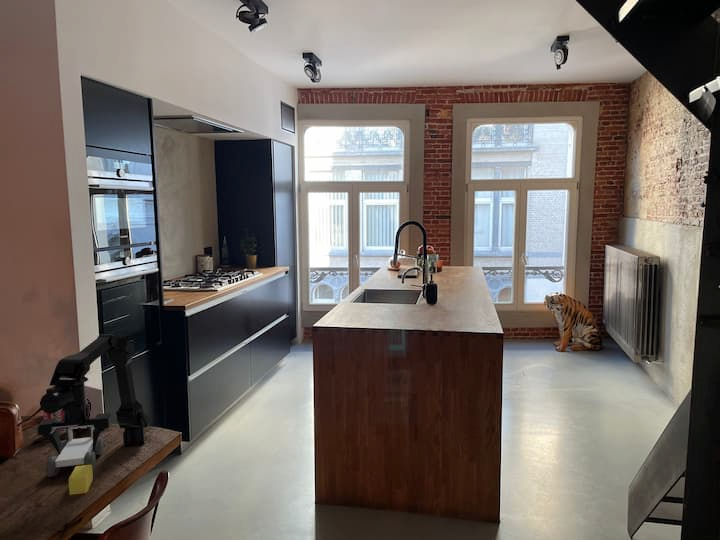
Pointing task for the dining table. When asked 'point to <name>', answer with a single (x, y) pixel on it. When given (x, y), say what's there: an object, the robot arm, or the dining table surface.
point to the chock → (80, 479)
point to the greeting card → (94, 400)
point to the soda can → (59, 416)
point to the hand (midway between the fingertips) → (77, 451)
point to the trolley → (75, 452)
